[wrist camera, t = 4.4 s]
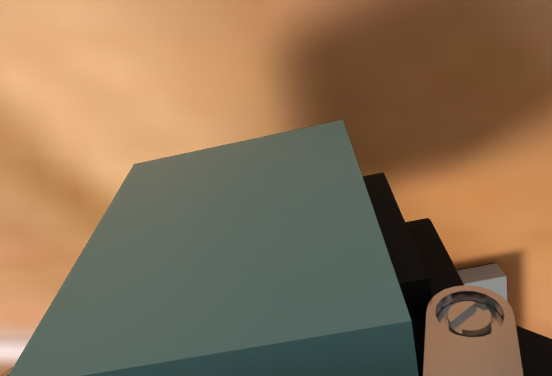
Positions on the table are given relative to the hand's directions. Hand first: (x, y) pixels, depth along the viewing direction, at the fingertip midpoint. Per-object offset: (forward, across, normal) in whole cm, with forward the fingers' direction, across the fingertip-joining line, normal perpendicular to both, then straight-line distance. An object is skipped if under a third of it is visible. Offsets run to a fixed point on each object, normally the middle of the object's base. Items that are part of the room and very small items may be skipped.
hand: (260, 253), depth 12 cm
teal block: (+1, 0, 0) cm, 1 cm away
